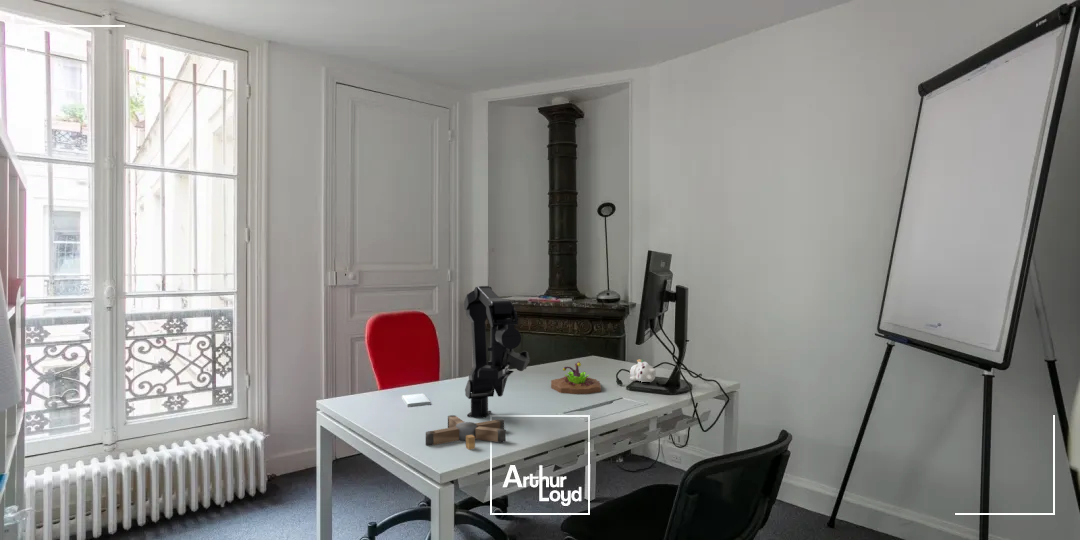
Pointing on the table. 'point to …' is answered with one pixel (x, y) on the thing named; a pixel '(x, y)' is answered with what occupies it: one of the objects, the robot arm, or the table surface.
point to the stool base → (460, 431)
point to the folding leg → (490, 434)
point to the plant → (576, 383)
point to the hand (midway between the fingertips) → (500, 396)
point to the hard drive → (415, 400)
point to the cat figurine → (642, 372)
